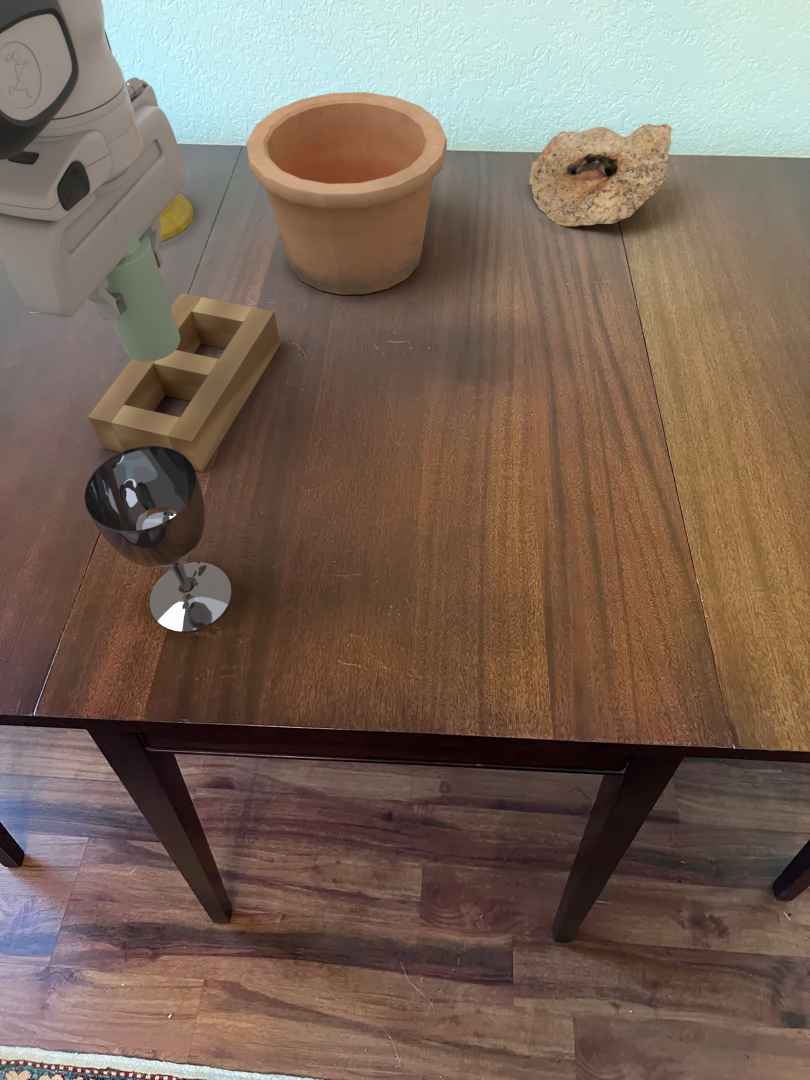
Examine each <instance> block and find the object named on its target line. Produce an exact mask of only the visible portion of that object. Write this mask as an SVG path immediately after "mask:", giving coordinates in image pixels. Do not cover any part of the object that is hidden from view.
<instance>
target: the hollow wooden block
mask: <svg viewBox="0 0 810 1080" xmlns="http://www.w3.org/2000/svg"><path fill="white" fill-rule="evenodd" d="M170 306H171V309H172V312H173V315H174V318H175V322H176V325H177V328H178V331H179V334H180V343H179V346H178V347H177V349H176V350H175V351H174V352H173V353H171V354H170V355H168V356H167V357H165V358H162V359H159V360H155V361H146V362H145V361H138V360H134V359H132V358H130V360H129V361H128V363H127V364H126V365H125V366H124V368H123V370H122V371H121V372H120V373H119V375H118V376H117V377H116V378H115V380H114V381H113V383H112V384H111V385H110V387H109V388H108V389H107V390H106V391H105V393H104V394H103V396H102V397H101V398H100V400H99V401H98V403H96V405H95V407H94V408H93V409H92V411H91V412H90V413H89V414H88V415H87V418H88V420H89V422H90V424H91V426H92V428H93V431H94V433H95V435H96V437H97V439H98V442H99V444H100V446H101V447H102V449H104V450H108V451H112V452H117V453H121V452H124V451H126V450H129V449H133V448H137V447H143V446H160V447H166V448H170V449H173V450H175V451H177V452H179V453H181V454H182V455H184V456H185V457H186V458H187V459H188V460H189V461H190V462H191V464H192V466H193V467H194V469H195V471H196V472H200V473H204V471H205V470H206V468H207V466H208V465H209V463H210V461H211V459H212V458H213V456H214V455H215V453H216V451H217V450H218V448H219V446H220V445H221V443H222V441H223V440H224V438H225V436H226V435H227V433H228V432H229V430H230V428H231V427H232V425H233V423H234V422H235V421H236V418H237V416H238V415H239V413H240V412H241V410H242V408H243V406H244V405H245V404H246V402H247V400H248V398H249V397H250V395H251V394H252V391H253V390H254V388H255V387H256V385H257V384H258V382H259V381H260V379H261V377H262V375H263V374H264V372H265V371H266V369H267V367H268V366H269V363H270V362H271V360H272V359H273V357H274V355H275V354H276V352H277V350H278V348H279V347H280V345H281V340H280V336H279V335H280V334H279V329H278V324H277V318H276V314H275V311H274V310H270V309H266V308H259V307H255V306H249V305H244V304H239V303H234V302H228V301H225V300H224V301H223V300H218V299H214V298H207V297H203V296H198V295H193V294H187V293H183V292H182V293H180V294H179V296H178V297H177V298H176V299H175V301H174V302H173V303H172V305H170ZM201 345H205V346H210V347H216V348H220V349H224V350H223V352H222V353H221V355H220V356H219V358H216V357H211V356H206V355H201V354H198V353H197V354H196V352H197V351H198V349H199V347H200V346H201ZM165 397H170V398H175V399H179V400H184V401H187V402H188V401H189V403H188V405H187V407H186V408H185V410H184V411H183V413H181V416H180V417H179V416H175V415H171V414H167V413H162V412H158V411H156V409H157V408H158V406H159V405H160V404H161V402H162V401H163V399H164V398H165Z"/></svg>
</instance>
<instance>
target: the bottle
mask: <svg viewBox="0 0 810 1080" xmlns="http://www.w3.org/2000/svg"><path fill="white" fill-rule="evenodd" d="M129 237H130V240H131V244H130V250H129V251H128V253H127V254H126V255H125V256H124V257H123V258H122V260H121V261H120V262H119V263H118V264H117V265H116V267H115V268H114V269H113V270H112V271H111V272H110V274H109V275H108V276H107V277H106V279H107V282H108V287H107V288H105V290H106V291H108V292H110V293H118V294H121V295H122V298H123V304H124V305H125V306H126V310H125V311H124V313H123V314H122V315H121V316H120V318H119V319H118V320H117V321H112V323H113V327H114V329H115V331H116V334H117V336H118V339H119V341H120V344H121V347H122V348H123V351H124V353H125V355H127V356H128V357H129V358H130V359H134V360H138V361H145V362H146V361H155V360H159V359H162V358H165V357H167V356H168V355H170V354H171V353H173V352H174V351H175V350H176V349H177V347H178V346H179V343H180V334H179V331H178V328H177V325H176V322H175V318H174V315H173V312H172V309H171V306H172V305H171V304H170V303H171V302H170V300H169V297H168V294H167V290H166V287H165V284H164V281H163V277H162V274H161V271H160V268H158V265H157V262H156V259H155V256H154V253H153V249H152V246H151V243H150V240H149V238H148V237H147V236H146V235H145V234H143V235H142V236H141V237H140V239H139V240H138V239H137V238H136V237H135V235H134V232H133V231H132V232H131V233H130V235H129Z"/></svg>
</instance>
